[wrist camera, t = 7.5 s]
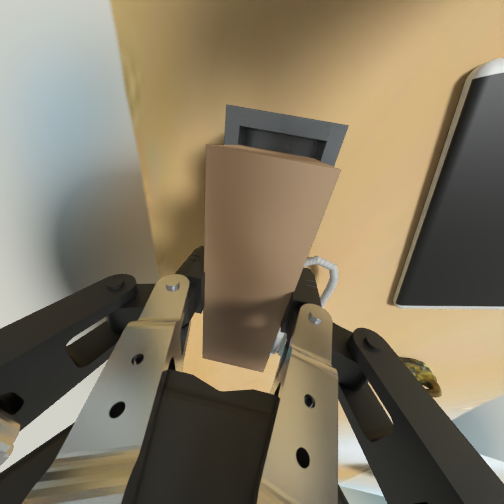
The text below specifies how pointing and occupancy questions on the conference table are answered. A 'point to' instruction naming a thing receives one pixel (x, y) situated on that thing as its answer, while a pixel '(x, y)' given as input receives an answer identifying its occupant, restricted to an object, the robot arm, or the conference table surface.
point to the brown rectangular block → (256, 245)
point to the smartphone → (463, 208)
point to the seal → (423, 375)
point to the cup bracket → (284, 133)
